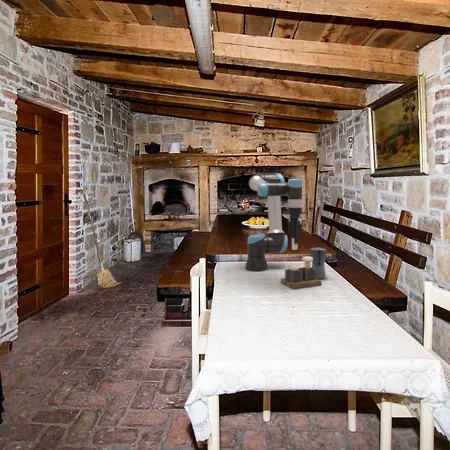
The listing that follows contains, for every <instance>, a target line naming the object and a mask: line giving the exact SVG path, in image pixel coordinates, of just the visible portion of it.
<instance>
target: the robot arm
mask: <svg viewBox="0 0 450 450" xmlns="http://www.w3.org/2000/svg"><path fill="white" fill-rule="evenodd" d="M287 181H288V182H286V181H285V178H284V175H282V174H281V173H275V172H273V173H270V172H269V173H257V174H254V175H252V176H251V177H250V179H249V181H248V187H250V190H253V191H254V192H257V195H258V197H267V213H268V231H267V232H266V233H267V234H265V233H255V234H251V235H249V236H248V237H247V259H246V262H245V265H244V266H245V267H244V268H245V270H246V271H250V272H265V271H267V270H269V267H268V265H269V264H268V263H267V259H266V254H272V253H273V254H275V253H276V254H277V253H284V252H286V250H287V248H288V245H289V244H288V243H289V242H288V241H289V239H288V235H287V234H285V232H284V230H283V226H282V225H283V223H282V206H281V205H282V204H281V197H287V199H288V200H287V207H288V208H287V214H288V215H289V218H287V219H286V222H287V227H288V232H289V233H288V234H289V237H291V250H293V251H295V250H298V245H299V244H298V241H299V238H301V235H302V228H303V223H304V220H302V219H301V215H302V214H303V208H302V207H303V179H301V178H289V179H288V180H287Z"/></svg>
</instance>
